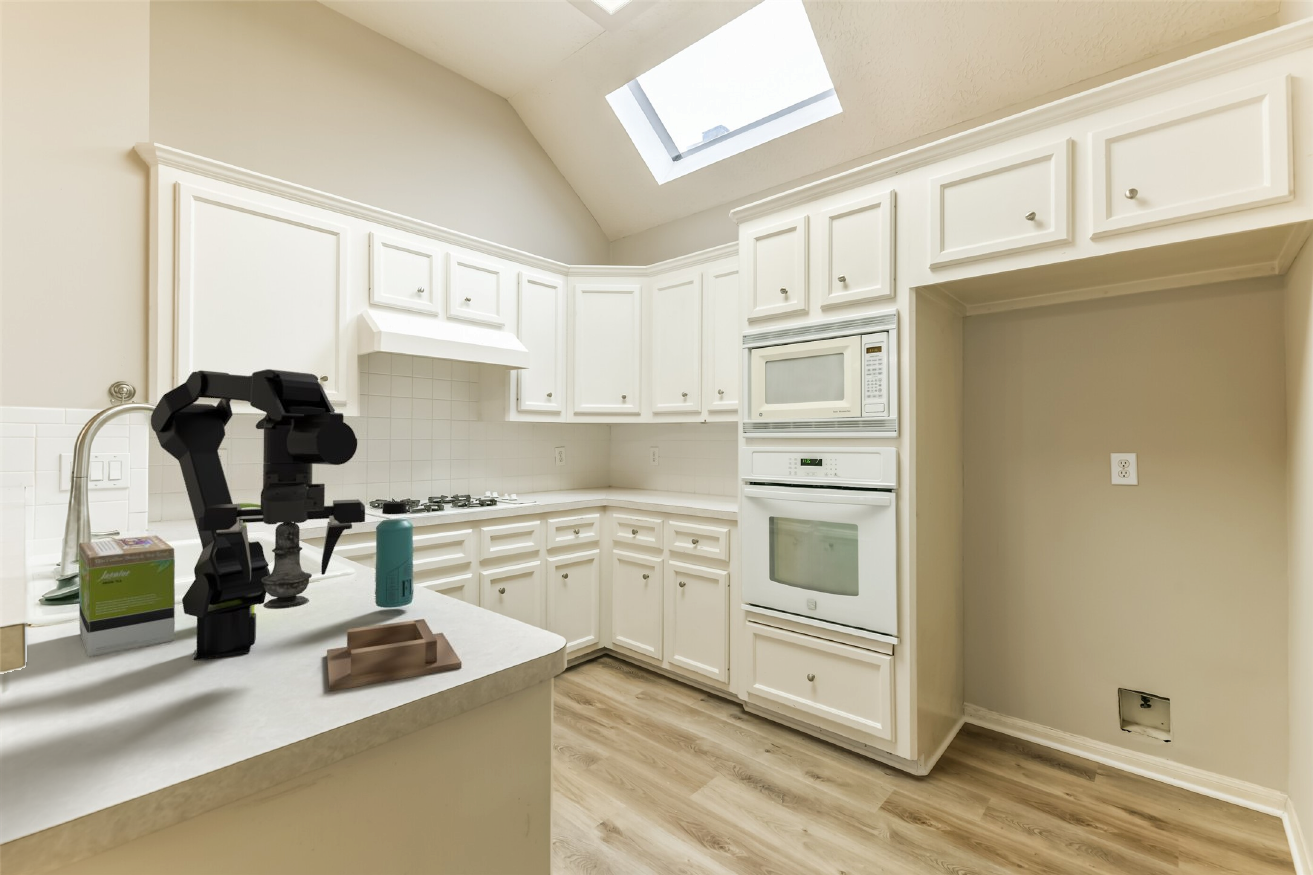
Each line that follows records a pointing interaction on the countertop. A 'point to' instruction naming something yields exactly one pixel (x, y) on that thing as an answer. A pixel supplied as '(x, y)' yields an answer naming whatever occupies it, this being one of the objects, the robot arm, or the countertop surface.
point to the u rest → (389, 654)
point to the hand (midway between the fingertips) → (286, 577)
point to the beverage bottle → (394, 559)
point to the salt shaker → (286, 570)
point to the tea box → (126, 594)
